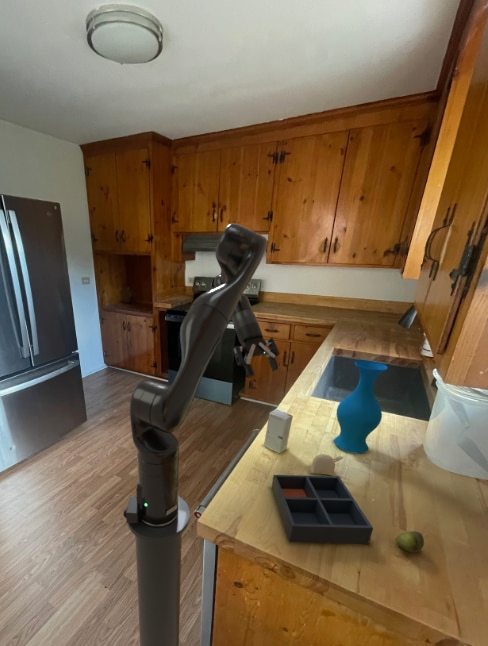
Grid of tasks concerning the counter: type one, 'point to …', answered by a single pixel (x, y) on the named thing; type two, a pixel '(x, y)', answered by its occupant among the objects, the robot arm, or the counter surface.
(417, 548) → the lime
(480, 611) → the counter surface
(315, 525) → the grid
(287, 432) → the cosmetic box
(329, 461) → the decorative ornament
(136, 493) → the robot arm
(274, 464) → the counter surface
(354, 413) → the vase
